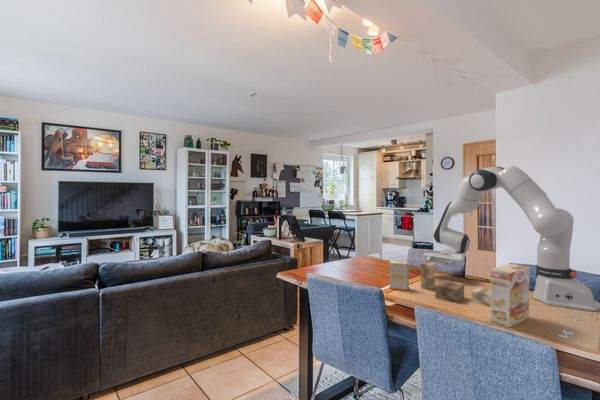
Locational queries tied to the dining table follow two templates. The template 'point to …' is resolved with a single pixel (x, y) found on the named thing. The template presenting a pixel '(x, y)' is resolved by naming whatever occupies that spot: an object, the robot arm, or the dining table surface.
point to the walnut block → (449, 291)
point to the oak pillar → (428, 276)
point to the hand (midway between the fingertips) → (437, 261)
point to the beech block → (481, 296)
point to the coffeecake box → (509, 294)
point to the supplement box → (399, 275)
